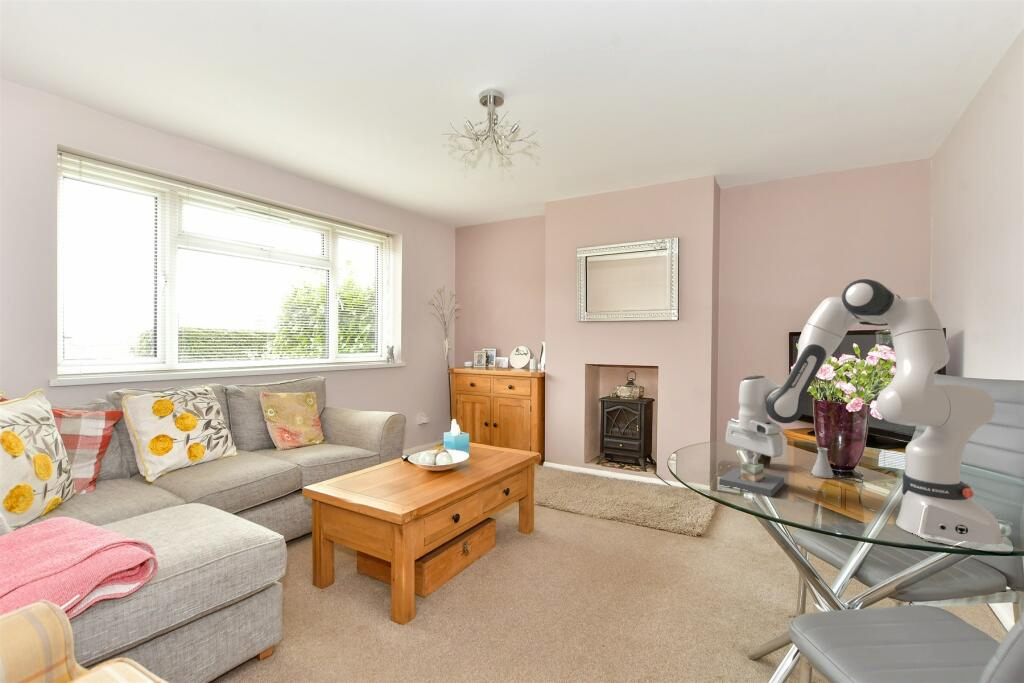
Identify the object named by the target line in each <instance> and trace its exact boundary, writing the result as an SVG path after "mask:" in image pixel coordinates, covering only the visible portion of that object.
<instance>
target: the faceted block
mask: <svg viewBox="0 0 1024 683" xmlns="http://www.w3.org/2000/svg"><path fill="white" fill-rule="evenodd" d="M740 469H741V479H744V480H748V481H753V482H758V483H761V482H762V481H763V473H764V468H763V464H759V463H758V464H756V465H754V464H751V463H748V462H747V461H744V462H740Z"/></svg>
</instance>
